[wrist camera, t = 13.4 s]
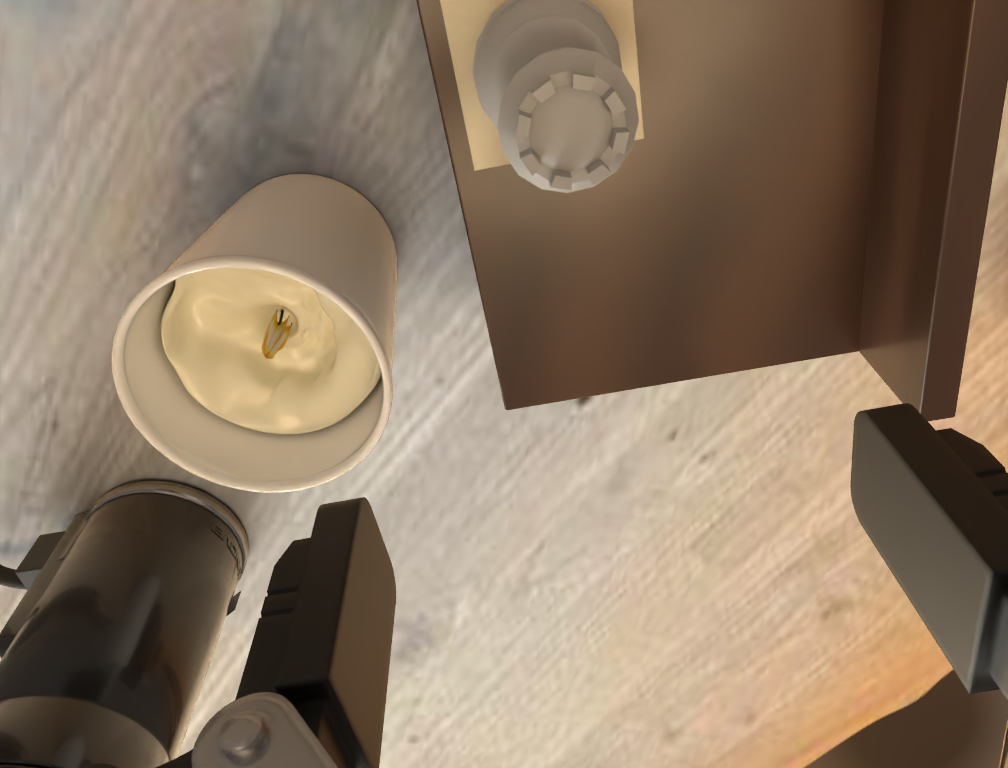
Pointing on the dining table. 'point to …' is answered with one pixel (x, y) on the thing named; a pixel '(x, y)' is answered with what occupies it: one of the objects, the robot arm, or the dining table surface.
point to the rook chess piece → (556, 92)
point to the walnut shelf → (744, 197)
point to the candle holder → (267, 340)
